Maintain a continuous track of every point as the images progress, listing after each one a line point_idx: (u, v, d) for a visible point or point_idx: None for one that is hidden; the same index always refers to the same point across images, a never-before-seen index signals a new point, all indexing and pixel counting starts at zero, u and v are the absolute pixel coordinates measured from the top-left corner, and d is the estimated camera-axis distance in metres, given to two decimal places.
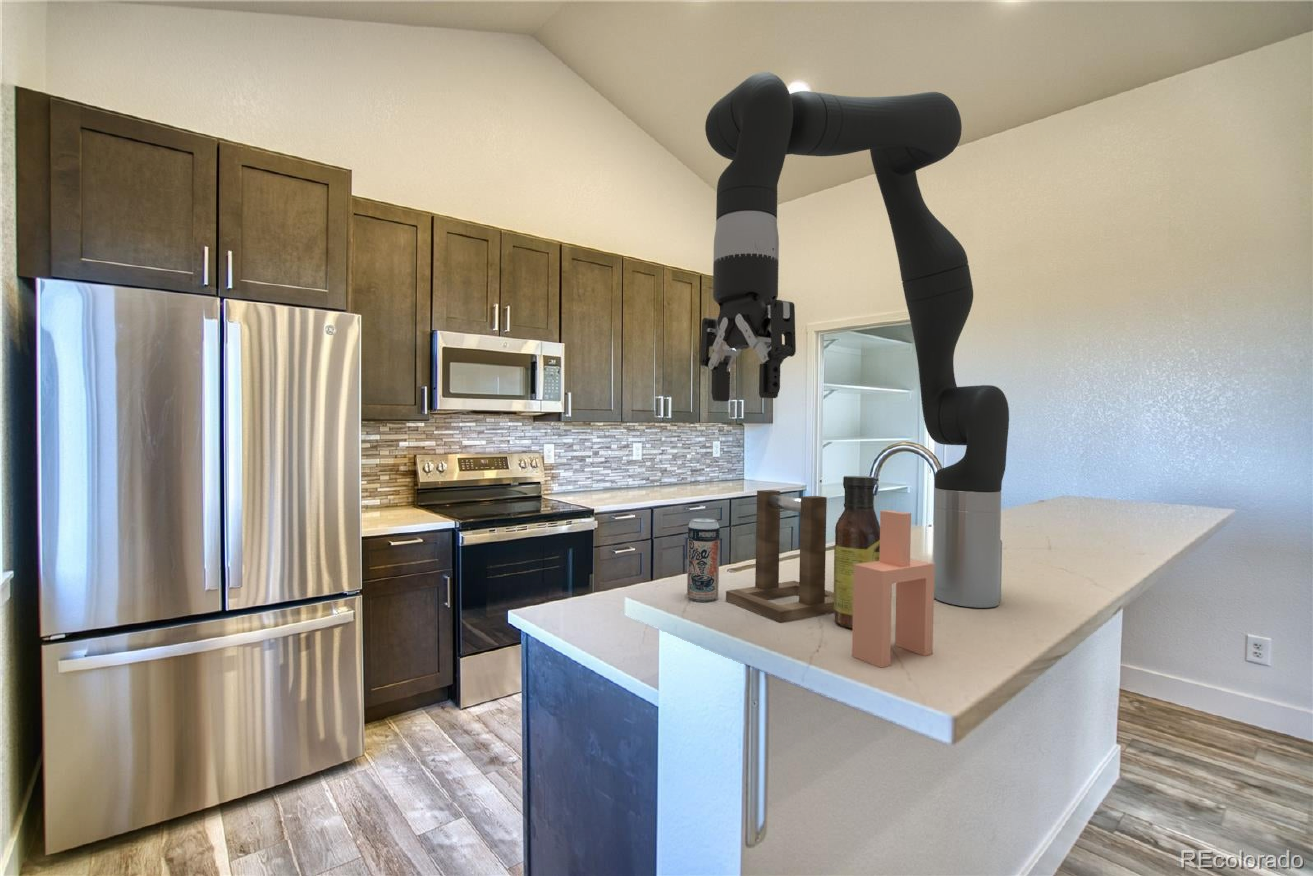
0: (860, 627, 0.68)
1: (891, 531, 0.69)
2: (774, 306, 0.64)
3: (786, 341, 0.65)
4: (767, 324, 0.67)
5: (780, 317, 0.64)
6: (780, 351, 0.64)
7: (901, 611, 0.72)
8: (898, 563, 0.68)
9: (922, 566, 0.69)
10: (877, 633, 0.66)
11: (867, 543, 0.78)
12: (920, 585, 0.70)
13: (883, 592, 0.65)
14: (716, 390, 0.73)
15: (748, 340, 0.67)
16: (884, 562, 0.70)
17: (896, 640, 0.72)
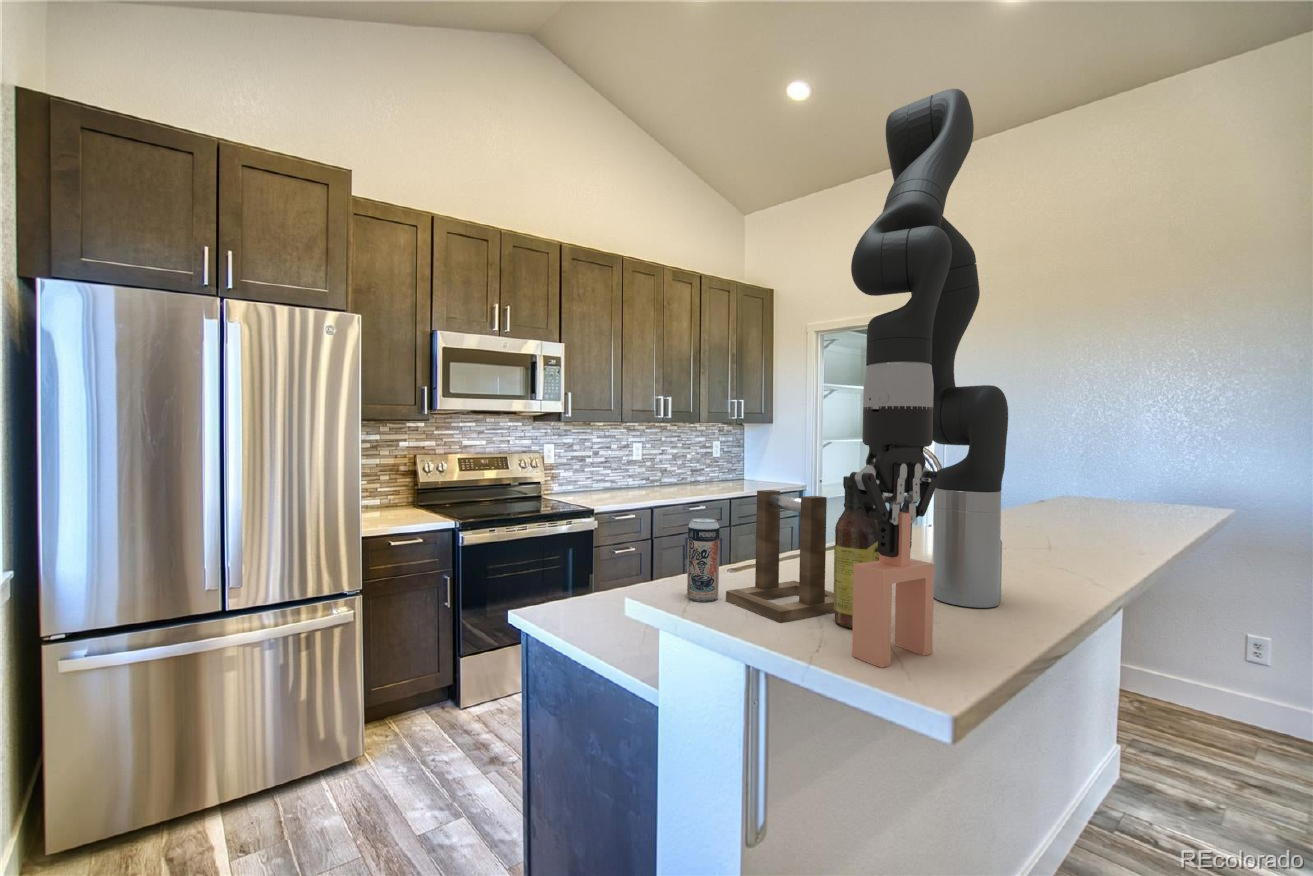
0: (860, 627, 0.68)
1: None
2: (936, 478, 0.71)
3: None
4: None
5: None
6: None
7: (901, 611, 0.72)
8: (898, 563, 0.68)
9: (922, 566, 0.69)
10: (877, 633, 0.66)
11: (867, 543, 0.78)
12: (920, 585, 0.70)
13: (883, 592, 0.65)
14: None
15: (914, 494, 0.68)
16: (884, 562, 0.70)
17: (895, 640, 0.72)
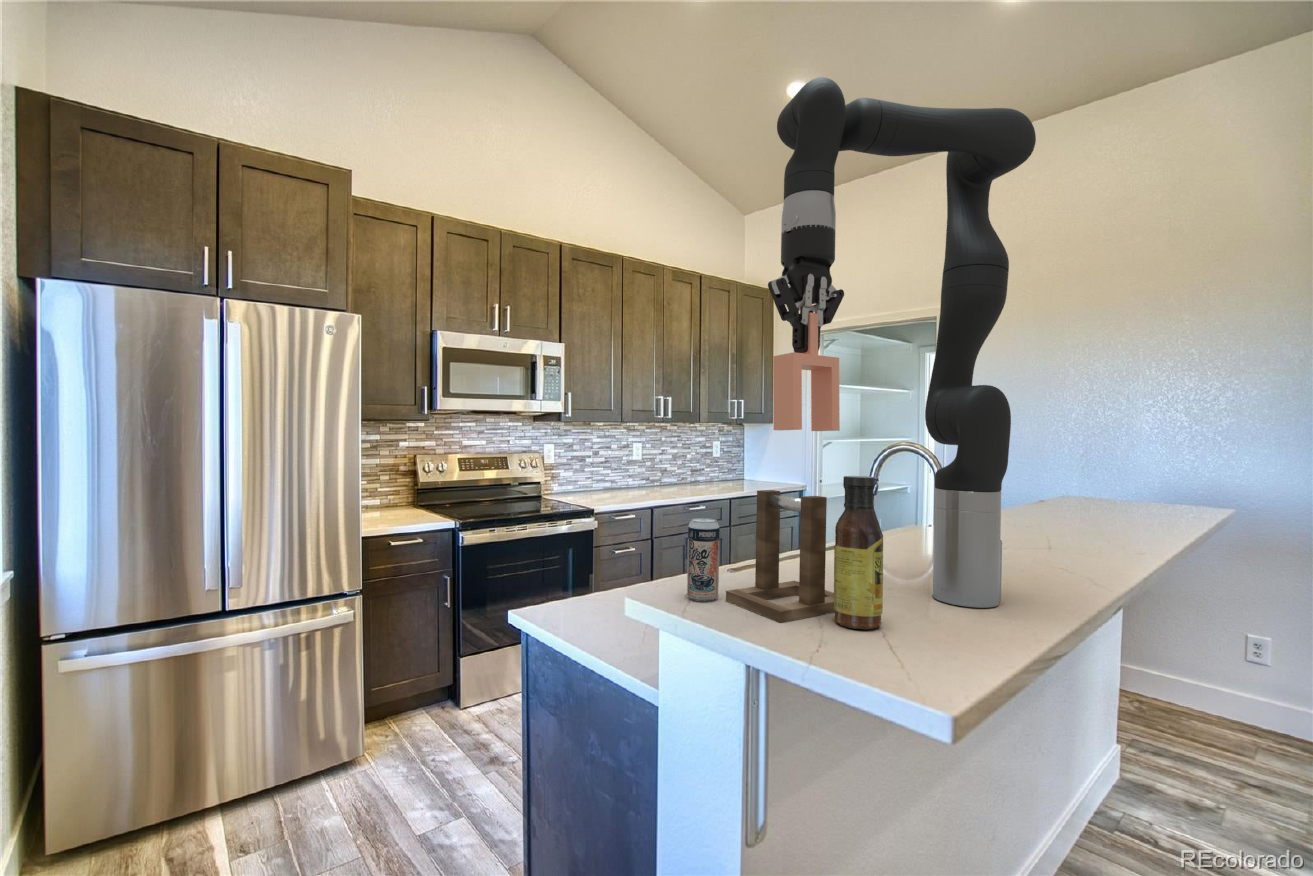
0: (778, 404, 0.84)
1: None
2: (841, 295, 0.88)
3: None
4: None
5: None
6: None
7: (815, 401, 0.88)
8: (808, 352, 0.84)
9: (828, 357, 0.85)
10: (790, 403, 0.82)
11: (867, 543, 0.78)
12: (828, 375, 0.86)
13: (794, 369, 0.82)
14: (807, 343, 0.85)
15: (820, 301, 0.85)
16: None
17: (812, 426, 0.89)
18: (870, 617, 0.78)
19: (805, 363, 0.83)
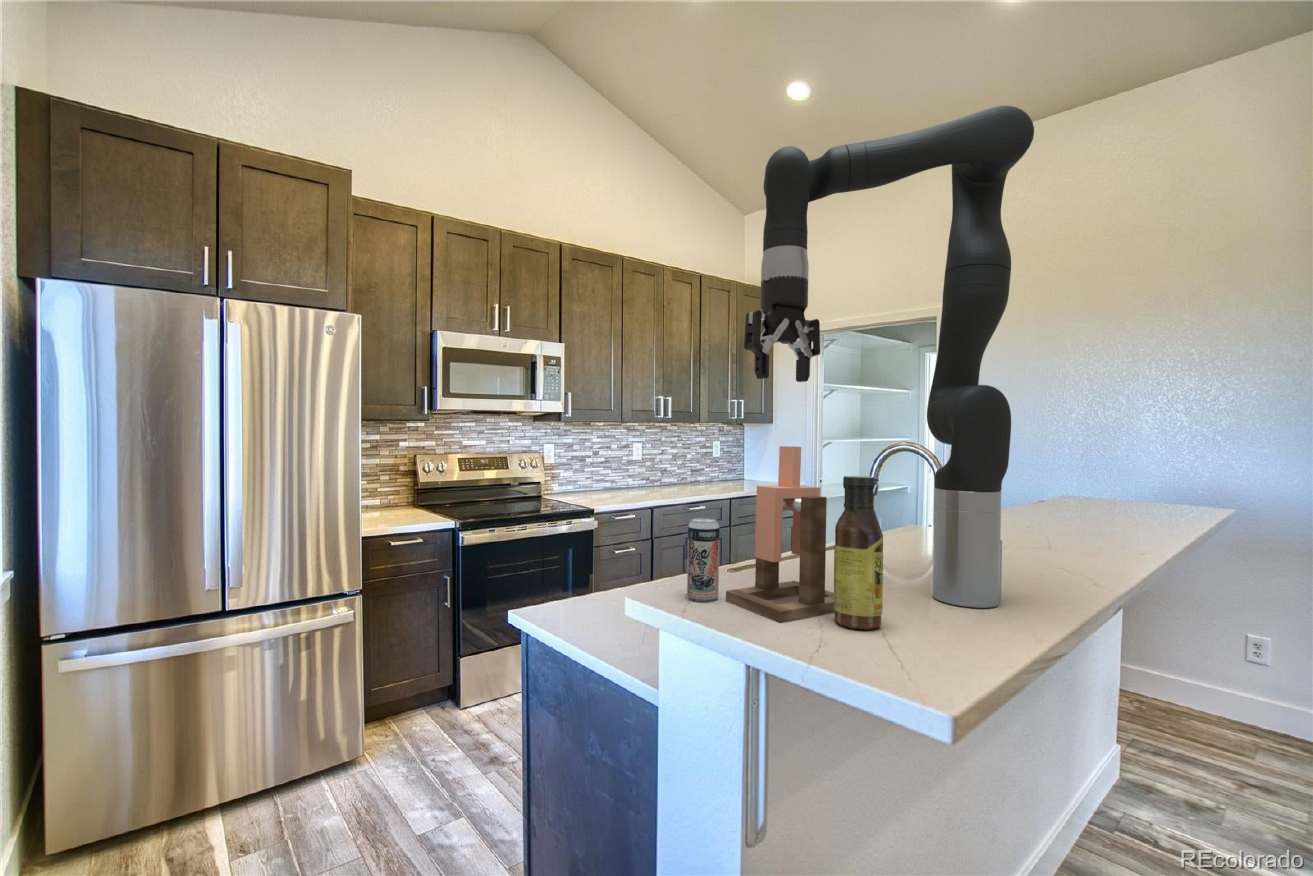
0: (760, 533, 0.88)
1: (786, 461, 0.89)
2: (817, 323, 0.99)
3: (807, 346, 1.01)
4: None
5: None
6: None
7: (796, 526, 0.92)
8: (790, 485, 0.88)
9: (809, 488, 0.89)
10: (771, 536, 0.86)
11: (867, 543, 0.78)
12: None
13: (775, 504, 0.85)
14: None
15: (803, 340, 0.97)
16: (781, 485, 0.90)
17: (792, 549, 0.93)
18: (870, 617, 0.78)
19: (787, 497, 0.87)
